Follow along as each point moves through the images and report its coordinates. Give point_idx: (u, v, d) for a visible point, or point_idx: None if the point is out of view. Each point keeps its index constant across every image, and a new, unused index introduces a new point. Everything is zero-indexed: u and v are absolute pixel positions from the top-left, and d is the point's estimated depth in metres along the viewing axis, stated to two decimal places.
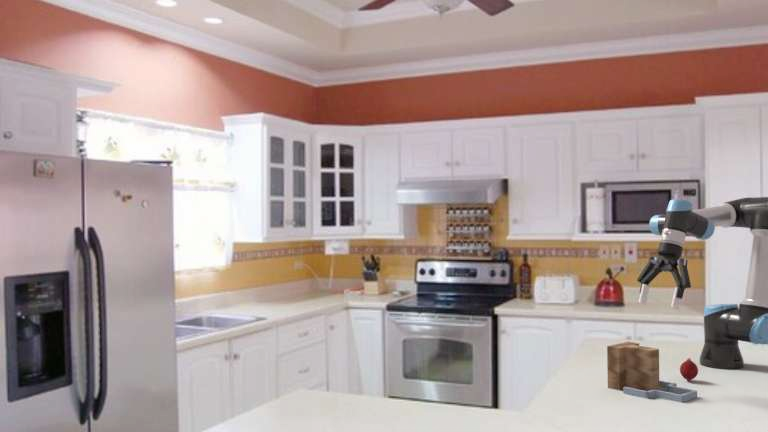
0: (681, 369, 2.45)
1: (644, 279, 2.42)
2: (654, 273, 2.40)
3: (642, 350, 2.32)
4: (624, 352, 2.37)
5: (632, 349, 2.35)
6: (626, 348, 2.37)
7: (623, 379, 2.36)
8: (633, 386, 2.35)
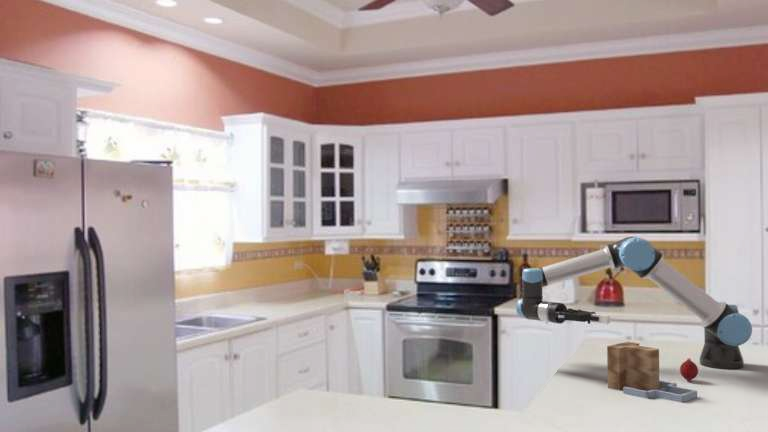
0: (681, 369, 2.45)
1: None
2: None
3: (642, 350, 2.32)
4: (624, 352, 2.37)
5: (632, 349, 2.35)
6: (626, 348, 2.37)
7: (623, 379, 2.36)
8: (633, 386, 2.35)
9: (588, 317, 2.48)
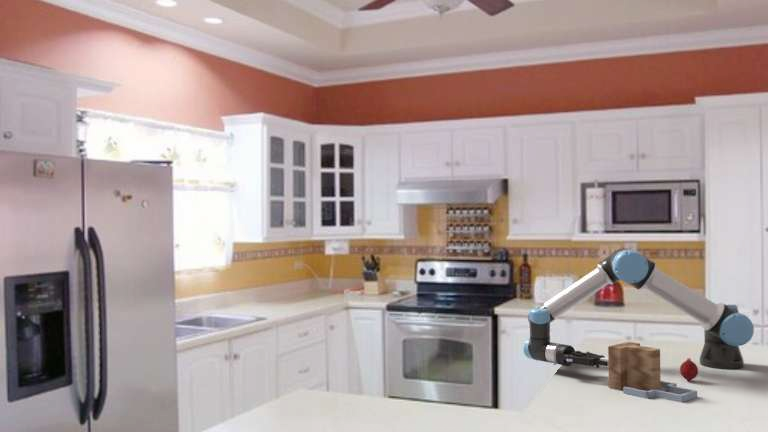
0: (681, 369, 2.45)
1: None
2: None
3: (643, 350, 2.32)
4: (625, 352, 2.36)
5: (633, 349, 2.35)
6: (627, 348, 2.37)
7: (624, 379, 2.36)
8: (634, 386, 2.35)
9: (597, 361, 2.46)
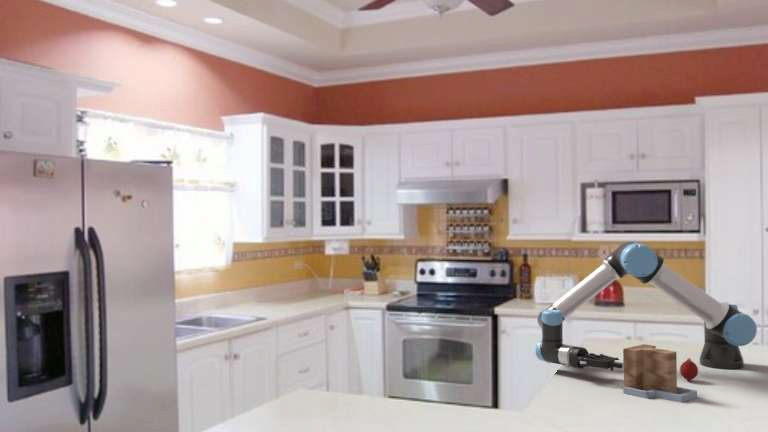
0: (681, 369, 2.45)
1: None
2: None
3: (659, 353, 2.27)
4: (640, 354, 2.32)
5: (649, 352, 2.30)
6: (642, 351, 2.32)
7: (639, 382, 2.32)
8: (649, 389, 2.30)
9: (611, 364, 2.41)
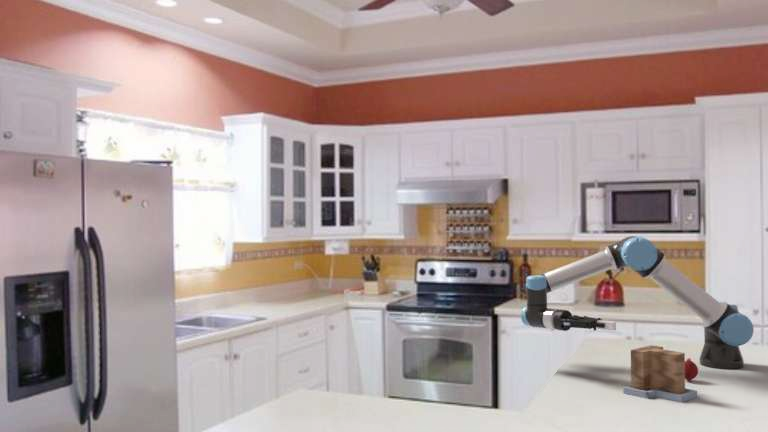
0: None
1: None
2: None
3: (667, 354, 2.25)
4: (648, 356, 2.30)
5: (657, 353, 2.28)
6: (650, 352, 2.30)
7: (647, 384, 2.29)
8: None
9: (594, 324, 2.46)
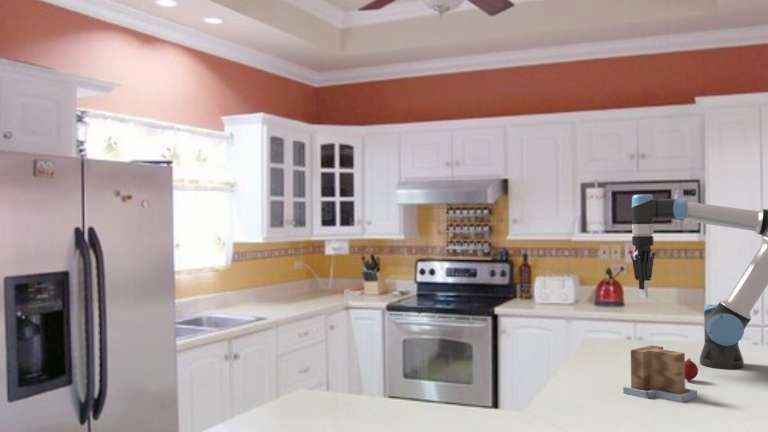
0: None
1: None
2: None
3: (667, 354, 2.25)
4: (648, 356, 2.30)
5: (657, 353, 2.28)
6: (650, 352, 2.30)
7: (647, 384, 2.29)
8: None
9: (640, 280, 2.65)
